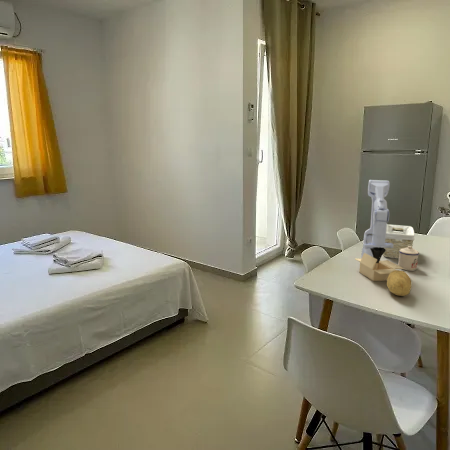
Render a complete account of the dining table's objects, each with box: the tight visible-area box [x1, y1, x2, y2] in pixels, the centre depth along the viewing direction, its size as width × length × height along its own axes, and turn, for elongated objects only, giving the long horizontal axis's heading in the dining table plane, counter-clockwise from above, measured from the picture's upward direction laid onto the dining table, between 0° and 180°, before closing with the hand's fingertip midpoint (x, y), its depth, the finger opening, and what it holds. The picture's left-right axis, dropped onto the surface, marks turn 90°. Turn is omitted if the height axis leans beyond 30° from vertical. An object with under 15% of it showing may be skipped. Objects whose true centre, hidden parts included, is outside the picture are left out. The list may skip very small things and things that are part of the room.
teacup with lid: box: [397, 246, 420, 271], centre depth 187 cm, size 12×9×12 cm
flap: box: [359, 253, 377, 269], centre depth 173 cm, size 10×5×1 cm
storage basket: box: [382, 223, 415, 259], centre depth 211 cm, size 24×16×15 cm
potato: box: [386, 269, 413, 297], centre depth 153 cm, size 10×14×10 cm
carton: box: [354, 257, 403, 282], centre depth 175 cm, size 22×15×8 cm
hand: (376, 262), depth 174 cm, fingers closed
